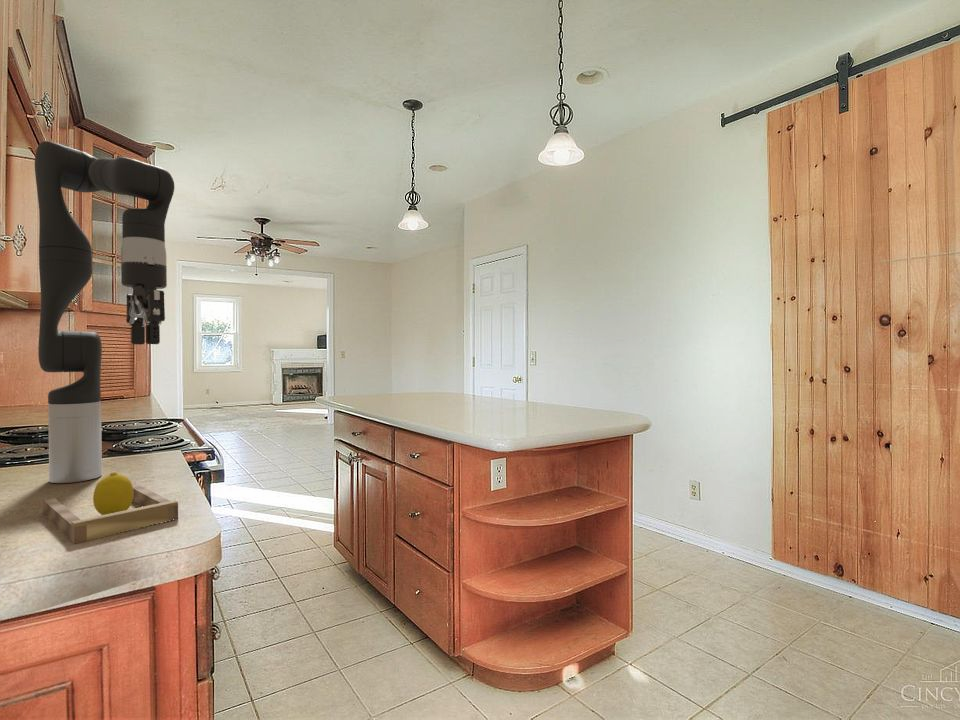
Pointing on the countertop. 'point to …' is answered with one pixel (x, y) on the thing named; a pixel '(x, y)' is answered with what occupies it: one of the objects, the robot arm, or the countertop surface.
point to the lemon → (113, 494)
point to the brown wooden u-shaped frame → (112, 516)
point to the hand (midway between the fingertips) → (145, 344)
